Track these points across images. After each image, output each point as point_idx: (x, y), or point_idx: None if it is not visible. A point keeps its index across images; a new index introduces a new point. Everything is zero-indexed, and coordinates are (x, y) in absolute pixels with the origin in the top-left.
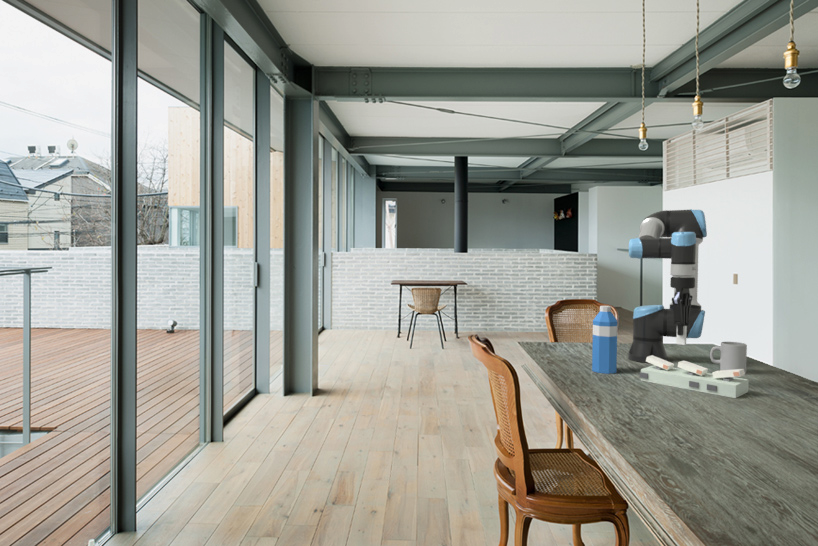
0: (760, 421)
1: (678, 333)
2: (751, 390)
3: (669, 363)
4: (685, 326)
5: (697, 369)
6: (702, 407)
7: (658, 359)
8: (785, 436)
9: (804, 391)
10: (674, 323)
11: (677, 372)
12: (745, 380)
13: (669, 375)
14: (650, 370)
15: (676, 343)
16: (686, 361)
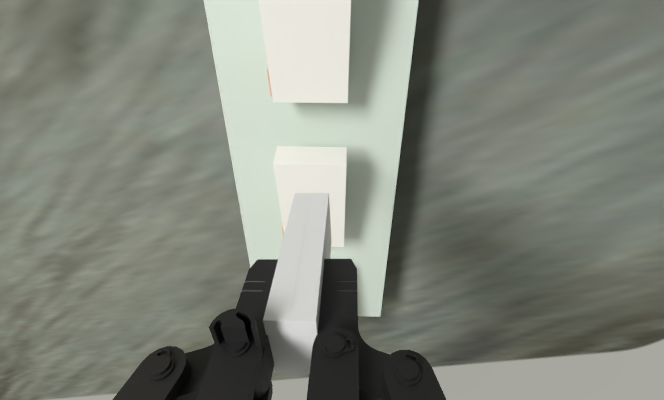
0: (120, 345)
1: (250, 277)
2: (403, 287)
3: (317, 87)
4: (288, 370)
5: (283, 228)
6: (89, 259)
7: (306, 17)
8: (77, 376)
9: (488, 354)
10: (149, 357)
11: (296, 128)
12: (358, 314)
13: (226, 116)
14: (214, 3)
15: (294, 195)
16: (340, 178)
